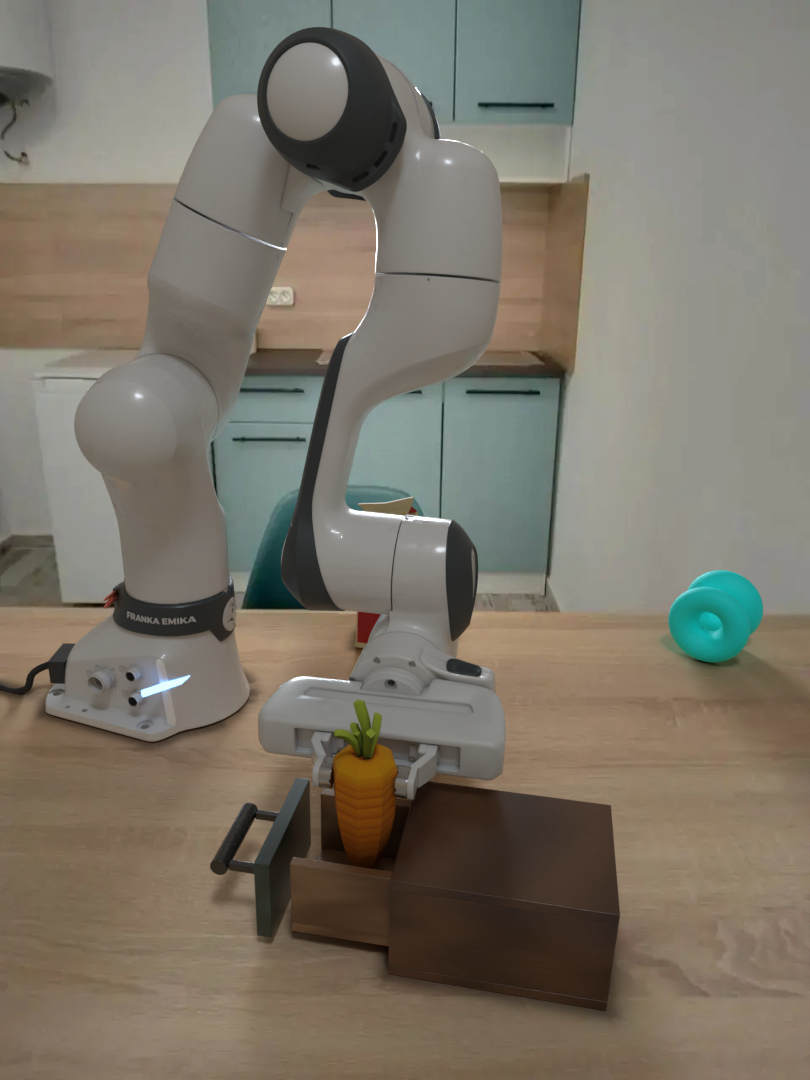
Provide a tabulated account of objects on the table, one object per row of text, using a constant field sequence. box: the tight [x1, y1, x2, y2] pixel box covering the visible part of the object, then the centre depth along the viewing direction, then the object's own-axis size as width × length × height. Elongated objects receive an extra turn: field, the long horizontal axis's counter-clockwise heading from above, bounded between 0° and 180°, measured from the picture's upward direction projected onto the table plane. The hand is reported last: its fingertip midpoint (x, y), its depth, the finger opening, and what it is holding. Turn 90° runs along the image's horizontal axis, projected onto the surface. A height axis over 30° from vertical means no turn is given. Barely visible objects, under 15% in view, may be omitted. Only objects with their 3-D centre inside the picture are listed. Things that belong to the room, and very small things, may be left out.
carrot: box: [333, 700, 398, 869], centre depth 63 cm, size 5×5×15 cm
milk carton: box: [355, 496, 419, 649], centre depth 107 cm, size 9×9×20 cm
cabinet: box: [387, 780, 621, 1011], centre depth 63 cm, size 16×12×9 cm
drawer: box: [209, 777, 412, 947], centre depth 65 cm, size 19×10×7 cm, turn 80°
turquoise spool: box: [667, 569, 764, 663], centre depth 108 cm, size 10×10×10 cm
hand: (362, 786), depth 61 cm, fingers closed on carrot, 5 cm apart
